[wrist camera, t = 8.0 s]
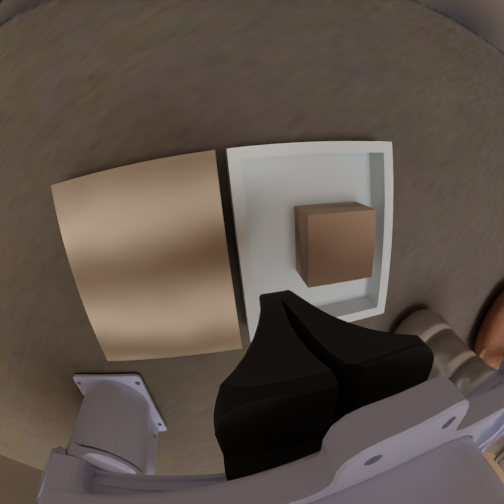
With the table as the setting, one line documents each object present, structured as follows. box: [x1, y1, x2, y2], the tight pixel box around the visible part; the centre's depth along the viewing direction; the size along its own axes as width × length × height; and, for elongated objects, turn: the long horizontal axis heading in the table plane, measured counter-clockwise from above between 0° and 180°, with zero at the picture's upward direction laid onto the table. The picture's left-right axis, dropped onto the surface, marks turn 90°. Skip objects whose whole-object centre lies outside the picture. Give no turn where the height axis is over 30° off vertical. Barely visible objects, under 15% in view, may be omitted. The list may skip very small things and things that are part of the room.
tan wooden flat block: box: [51, 150, 242, 361], centre depth 19 cm, size 14×11×3 cm
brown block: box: [294, 202, 376, 288], centre depth 20 cm, size 5×5×3 cm
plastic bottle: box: [394, 309, 504, 471], centre depth 17 cm, size 6×7×20 cm
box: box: [225, 141, 393, 342], centre depth 20 cm, size 14×12×2 cm
